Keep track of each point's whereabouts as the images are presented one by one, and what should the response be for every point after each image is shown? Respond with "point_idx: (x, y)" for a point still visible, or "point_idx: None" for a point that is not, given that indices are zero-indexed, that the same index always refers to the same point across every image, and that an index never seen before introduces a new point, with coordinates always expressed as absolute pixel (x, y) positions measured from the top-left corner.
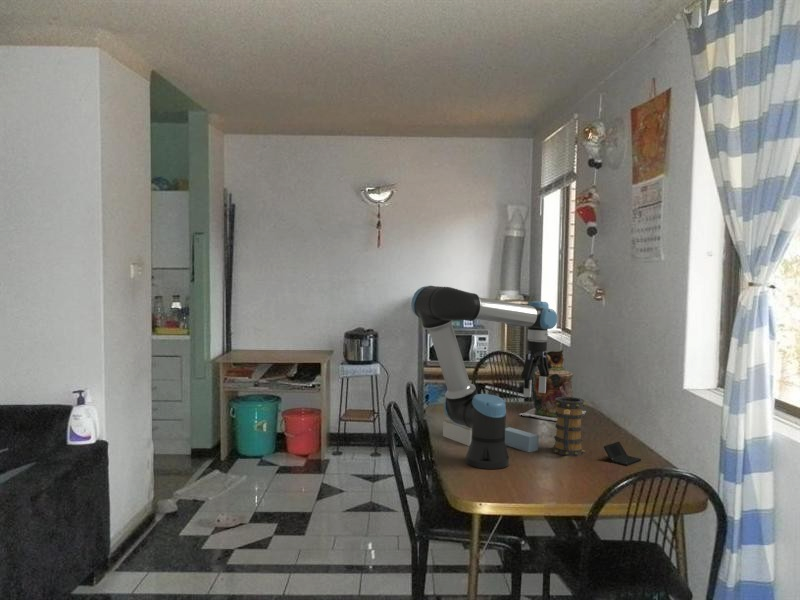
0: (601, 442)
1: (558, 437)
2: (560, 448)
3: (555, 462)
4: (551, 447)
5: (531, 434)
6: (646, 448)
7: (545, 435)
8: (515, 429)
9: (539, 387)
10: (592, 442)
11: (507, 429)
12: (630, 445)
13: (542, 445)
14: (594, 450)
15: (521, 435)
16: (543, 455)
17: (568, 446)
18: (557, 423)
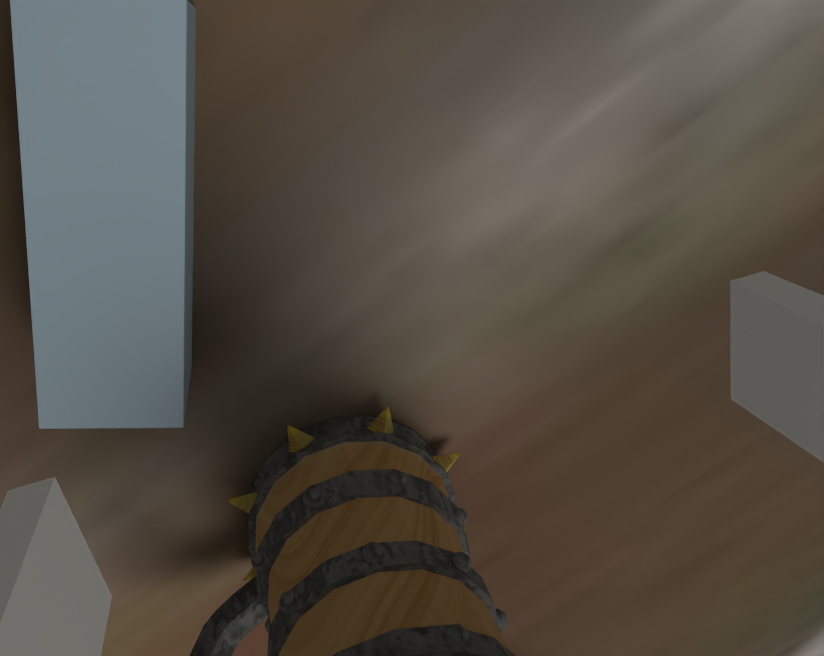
0: (743, 457)
1: (273, 566)
2: (256, 541)
3: None
4: (289, 430)
5: (141, 375)
6: (777, 649)
7: (659, 84)
8: (159, 122)
9: (806, 334)
10: (704, 428)
11: (65, 59)
12: (785, 577)
13: (350, 288)
14: (528, 556)
15: (34, 323)
16: (109, 482)
17: (264, 618)
18: (297, 629)
